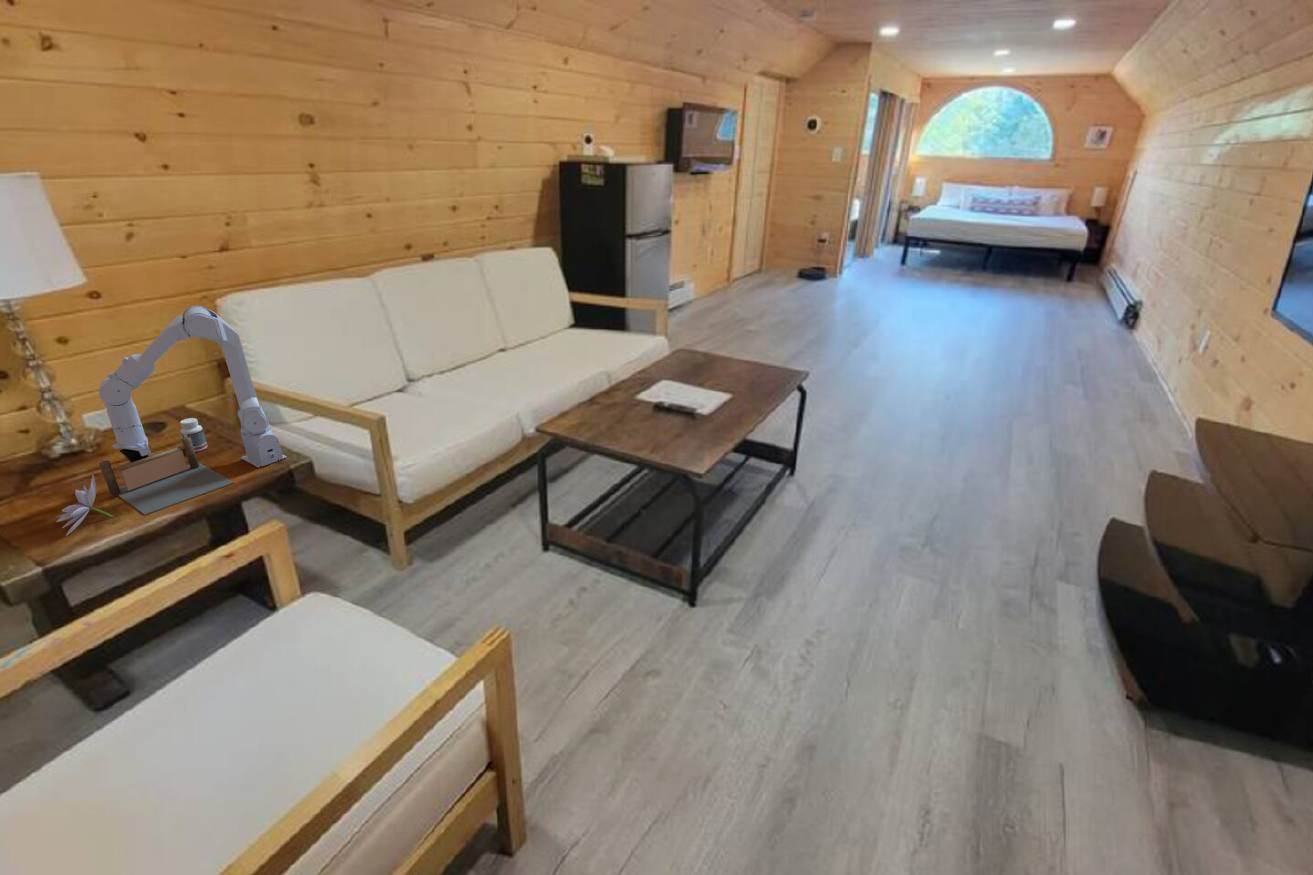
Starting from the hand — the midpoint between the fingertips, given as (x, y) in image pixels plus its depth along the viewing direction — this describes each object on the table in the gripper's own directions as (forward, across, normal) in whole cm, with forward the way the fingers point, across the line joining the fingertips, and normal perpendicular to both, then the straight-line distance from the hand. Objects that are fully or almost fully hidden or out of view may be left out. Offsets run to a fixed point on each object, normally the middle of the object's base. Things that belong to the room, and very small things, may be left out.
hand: (143, 472), depth 164 cm
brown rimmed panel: (+2, +2, +2) cm, 4 cm away
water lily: (+3, +10, -16) cm, 19 cm away
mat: (+3, +8, +3) cm, 9 cm away
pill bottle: (+3, -12, +17) cm, 21 cm away
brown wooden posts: (+3, +1, +2) cm, 4 cm away
